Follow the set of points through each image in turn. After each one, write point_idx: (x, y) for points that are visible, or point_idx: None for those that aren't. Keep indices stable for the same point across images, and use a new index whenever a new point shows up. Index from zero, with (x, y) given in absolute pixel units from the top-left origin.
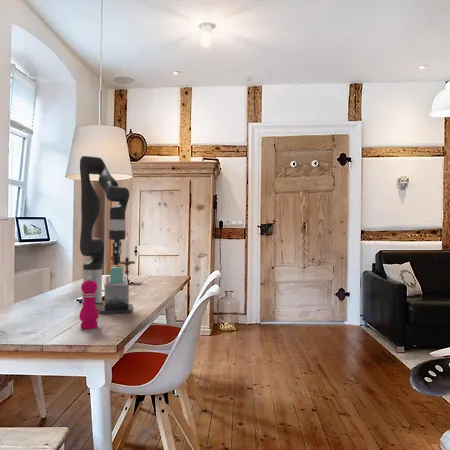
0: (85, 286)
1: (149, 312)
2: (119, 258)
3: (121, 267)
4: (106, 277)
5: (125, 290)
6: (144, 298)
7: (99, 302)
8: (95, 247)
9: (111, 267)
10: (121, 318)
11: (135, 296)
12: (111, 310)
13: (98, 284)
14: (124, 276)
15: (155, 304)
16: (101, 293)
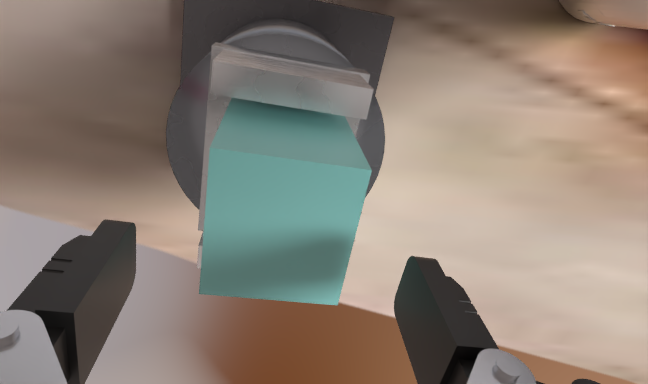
0: None
1: (187, 250)
2: (412, 353)
3: (273, 284)
4: (213, 63)
5: None
6: (557, 263)
7: (561, 3)
8: None
9: (310, 168)
10: (48, 102)
11: (640, 228)
12: (184, 58)
13: None
14: (198, 251)
15: (377, 293)
16: (622, 24)
